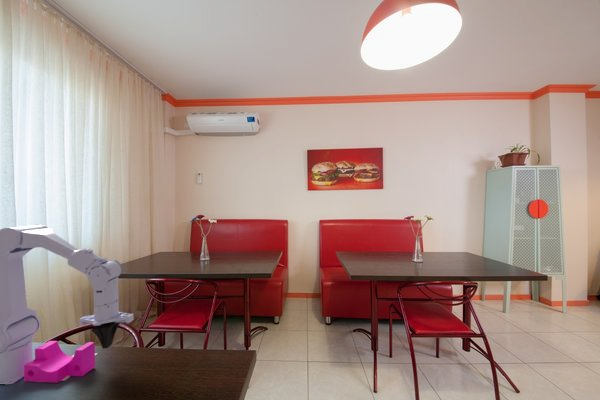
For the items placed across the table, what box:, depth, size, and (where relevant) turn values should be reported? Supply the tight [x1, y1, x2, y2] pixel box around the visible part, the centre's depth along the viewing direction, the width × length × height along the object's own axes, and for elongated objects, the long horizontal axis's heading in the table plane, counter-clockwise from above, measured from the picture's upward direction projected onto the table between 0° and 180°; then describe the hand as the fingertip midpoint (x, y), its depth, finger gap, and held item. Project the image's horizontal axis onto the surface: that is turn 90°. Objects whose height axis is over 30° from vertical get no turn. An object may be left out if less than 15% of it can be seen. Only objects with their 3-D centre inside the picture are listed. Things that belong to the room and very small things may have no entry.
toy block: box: [23, 340, 96, 384], centre depth 66 cm, size 15×6×8 cm, turn 85°
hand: (107, 346), depth 69 cm, fingers closed
